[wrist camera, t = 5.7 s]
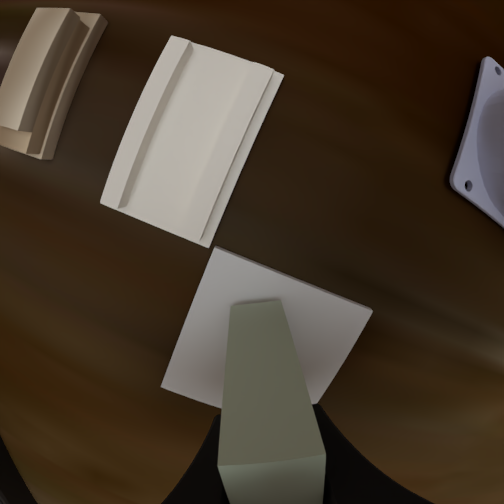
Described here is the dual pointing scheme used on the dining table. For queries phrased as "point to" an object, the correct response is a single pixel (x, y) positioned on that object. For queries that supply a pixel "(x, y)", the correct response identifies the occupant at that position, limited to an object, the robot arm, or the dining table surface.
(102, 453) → the dining table surface
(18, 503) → the food platter
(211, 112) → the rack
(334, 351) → the mat
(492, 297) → the dining table surface
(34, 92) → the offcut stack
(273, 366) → the grey green block
